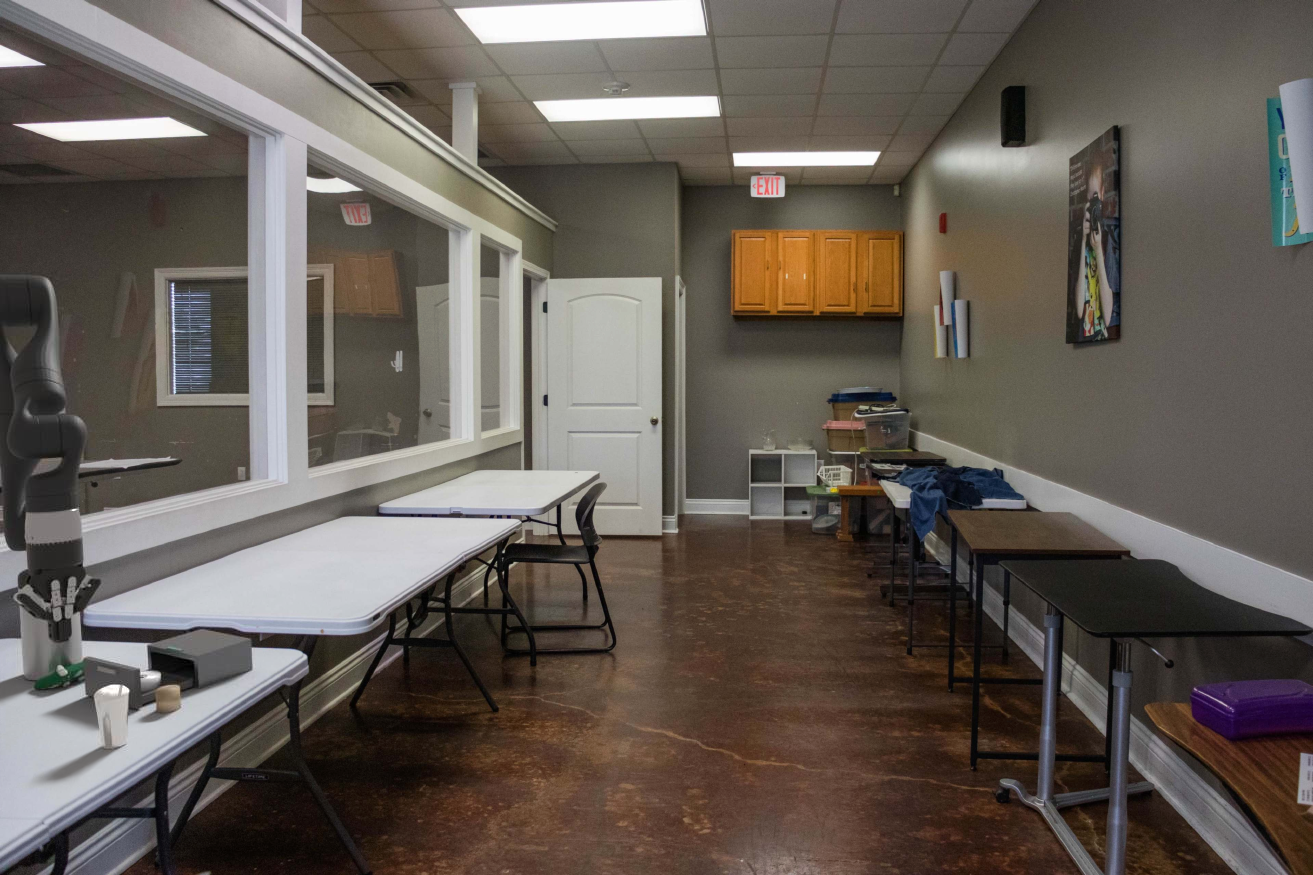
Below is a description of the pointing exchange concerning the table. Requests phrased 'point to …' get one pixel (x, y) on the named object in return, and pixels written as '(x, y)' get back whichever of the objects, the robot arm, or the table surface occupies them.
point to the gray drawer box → (203, 655)
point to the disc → (150, 680)
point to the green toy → (61, 676)
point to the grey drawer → (125, 680)
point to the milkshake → (112, 715)
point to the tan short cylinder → (168, 698)
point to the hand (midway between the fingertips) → (60, 641)
